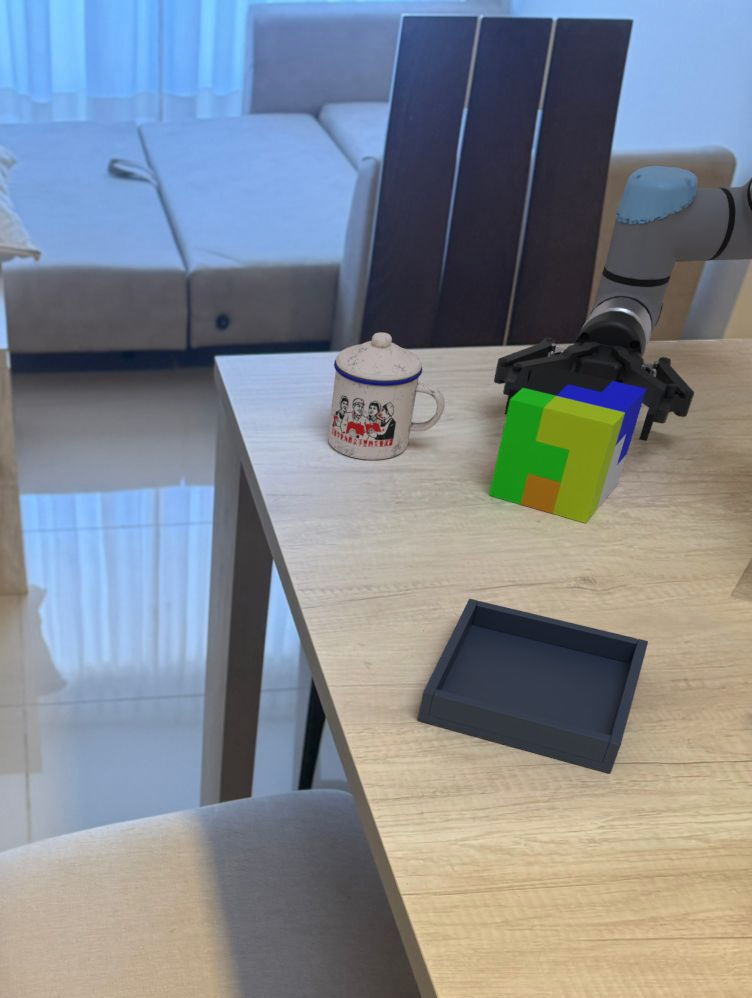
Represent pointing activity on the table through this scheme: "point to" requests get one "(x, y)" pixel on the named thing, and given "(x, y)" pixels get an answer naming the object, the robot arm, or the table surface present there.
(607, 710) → the dark gray tray
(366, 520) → the table surface
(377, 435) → the teacup with lid
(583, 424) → the puzzle toy
